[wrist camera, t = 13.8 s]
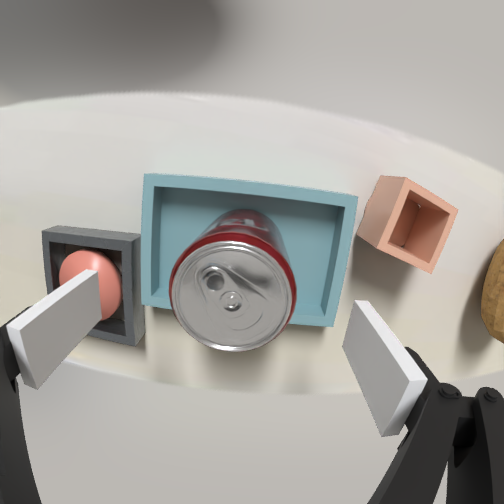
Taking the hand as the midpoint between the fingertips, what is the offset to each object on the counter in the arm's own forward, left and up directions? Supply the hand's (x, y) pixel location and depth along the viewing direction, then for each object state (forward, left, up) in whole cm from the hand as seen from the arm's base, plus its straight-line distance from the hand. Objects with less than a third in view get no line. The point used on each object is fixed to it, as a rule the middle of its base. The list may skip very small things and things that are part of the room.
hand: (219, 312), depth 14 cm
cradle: (-13, -9, -14) cm, 22 cm away
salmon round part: (-13, -9, -14) cm, 21 cm away
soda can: (0, 0, -14) cm, 14 cm away
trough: (0, 0, -14) cm, 14 cm away
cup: (+13, +8, -14) cm, 21 cm away
